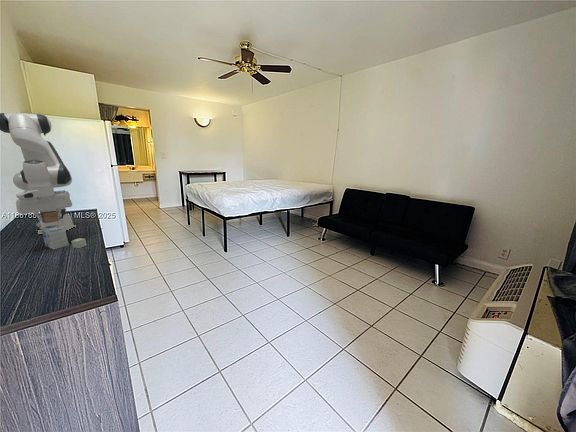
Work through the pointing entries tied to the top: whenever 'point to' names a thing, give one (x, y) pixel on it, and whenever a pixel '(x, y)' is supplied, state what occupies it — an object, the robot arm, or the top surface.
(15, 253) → the top surface
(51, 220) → the walnut cube
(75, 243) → the sage block
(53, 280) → the top surface
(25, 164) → the robot arm
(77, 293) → the top surface
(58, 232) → the light bulb box
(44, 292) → the top surface
